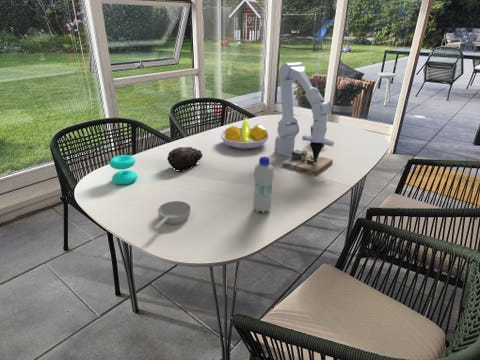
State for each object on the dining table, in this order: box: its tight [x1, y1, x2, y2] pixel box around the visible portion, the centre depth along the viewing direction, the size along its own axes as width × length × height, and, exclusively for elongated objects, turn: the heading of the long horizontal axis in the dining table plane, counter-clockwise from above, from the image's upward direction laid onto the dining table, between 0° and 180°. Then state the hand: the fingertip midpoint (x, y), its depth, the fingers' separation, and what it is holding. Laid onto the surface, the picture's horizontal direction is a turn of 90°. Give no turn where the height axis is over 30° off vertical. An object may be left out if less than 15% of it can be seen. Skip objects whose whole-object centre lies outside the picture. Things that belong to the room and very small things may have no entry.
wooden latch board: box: [281, 152, 334, 177], centre depth 152 cm, size 17×18×2 cm
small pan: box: [153, 200, 191, 230], centre depth 105 cm, size 11×18×4 cm, turn 163°
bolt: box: [300, 149, 308, 160], centre depth 153 cm, size 7×2×5 cm, turn 52°
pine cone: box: [166, 146, 203, 172], centre depth 148 cm, size 10×18×10 cm, turn 151°
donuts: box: [108, 154, 138, 185], centre depth 133 cm, size 10×10×10 cm
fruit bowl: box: [220, 117, 270, 150], centre depth 176 cm, size 28×27×11 cm
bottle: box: [253, 156, 274, 214], centre depth 110 cm, size 7×7×20 cm
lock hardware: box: [291, 149, 317, 164], centre depth 152 cm, size 11×5×3 cm, turn 52°
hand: (315, 157), depth 149 cm, fingers closed
